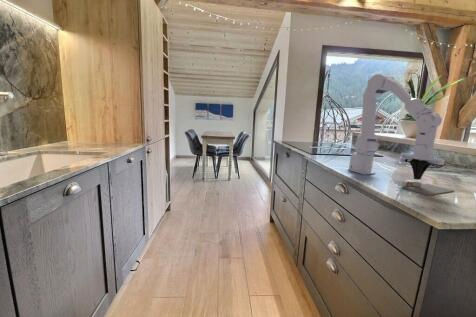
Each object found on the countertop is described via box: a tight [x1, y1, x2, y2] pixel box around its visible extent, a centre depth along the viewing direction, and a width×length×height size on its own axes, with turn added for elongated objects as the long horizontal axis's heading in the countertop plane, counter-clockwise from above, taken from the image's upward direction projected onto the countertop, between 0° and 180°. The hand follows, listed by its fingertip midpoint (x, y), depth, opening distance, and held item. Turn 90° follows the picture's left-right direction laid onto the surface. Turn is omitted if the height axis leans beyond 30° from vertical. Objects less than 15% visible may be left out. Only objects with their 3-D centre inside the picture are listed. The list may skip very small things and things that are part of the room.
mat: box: [401, 183, 455, 196], centre depth 91 cm, size 9×16×1 cm, turn 114°
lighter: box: [401, 179, 423, 187], centre depth 94 cm, size 7×2×8 cm
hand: (417, 179), depth 94 cm, fingers closed
